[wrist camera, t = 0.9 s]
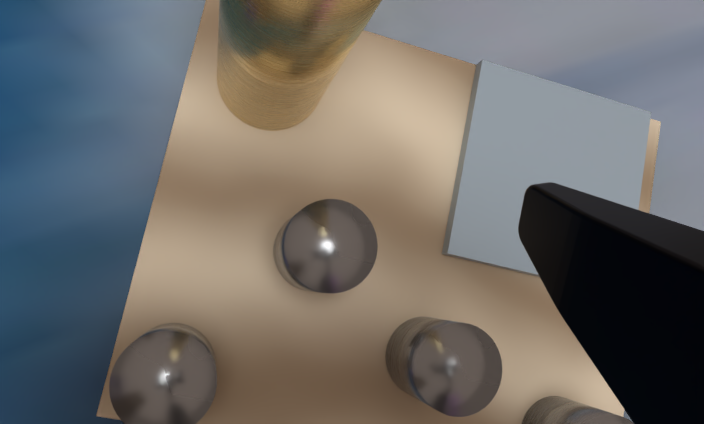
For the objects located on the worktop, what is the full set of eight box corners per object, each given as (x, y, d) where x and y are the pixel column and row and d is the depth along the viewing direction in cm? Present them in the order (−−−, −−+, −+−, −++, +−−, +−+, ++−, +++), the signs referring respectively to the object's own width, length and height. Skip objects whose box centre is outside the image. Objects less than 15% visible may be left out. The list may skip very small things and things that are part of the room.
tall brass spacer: (310, 142, 23) (415, -1, 11) (205, 114, 22) (200, -71, 10) (332, 45, 23) (452, -185, 12) (230, 15, 23) (253, -264, 11)
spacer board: (597, 489, 25) (612, 497, 24) (101, 409, 21) (96, 415, 20) (645, 127, 28) (660, 121, 27) (210, -5, 24) (210, -17, 23)
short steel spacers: (581, 479, 24) (643, 512, 20) (115, 403, 20) (96, 428, 17) (608, 281, 25) (671, 281, 22) (174, 176, 22) (167, 157, 18)
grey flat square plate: (617, 295, 25) (627, 295, 25) (441, 254, 24) (447, 253, 23) (641, 115, 26) (651, 112, 26) (476, 64, 25) (482, 59, 24)
